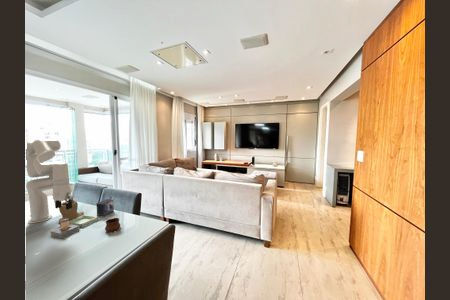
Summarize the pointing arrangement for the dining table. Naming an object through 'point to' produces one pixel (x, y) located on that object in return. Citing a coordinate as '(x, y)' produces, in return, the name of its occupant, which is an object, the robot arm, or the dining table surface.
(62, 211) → the stone cup
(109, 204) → the small box
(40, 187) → the robot arm
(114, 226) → the ceramic pot
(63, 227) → the fuse
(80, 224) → the parts tray
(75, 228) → the holder block
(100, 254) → the dining table surface
